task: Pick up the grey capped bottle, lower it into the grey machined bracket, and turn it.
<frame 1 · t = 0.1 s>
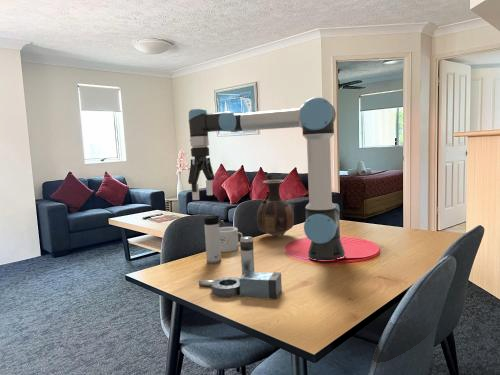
hand: (203, 197, 159), 28 cm above the table, fingers open, 13 cm apart
grey machined bracket: (228, 291, 128), on the table
vase: (276, 237, 199), on the table
travel mug: (214, 262, 162), on the table
mug: (230, 250, 180), on the table
grey capped bottle: (248, 281, 136), on the table
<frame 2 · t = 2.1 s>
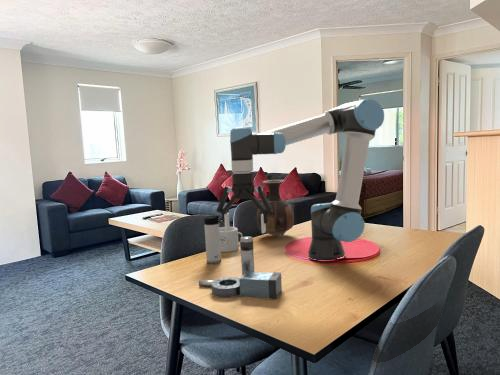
hand: (245, 232, 134), 18 cm above the table, fingers open, 13 cm apart
nothing on the table moved.
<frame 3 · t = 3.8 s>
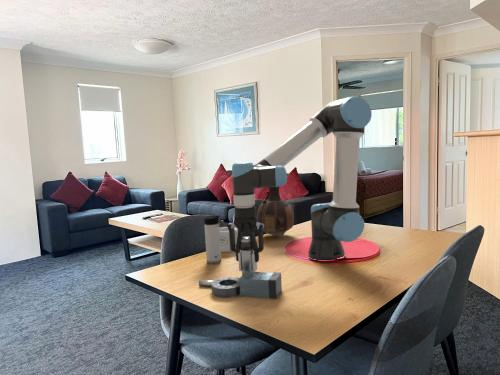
hand: (248, 270, 136), 4 cm above the table, fingers closed on grey capped bottle, 4 cm apart
grey capped bottle: (248, 281, 136), on the table, touching gripper
everything else where it was.
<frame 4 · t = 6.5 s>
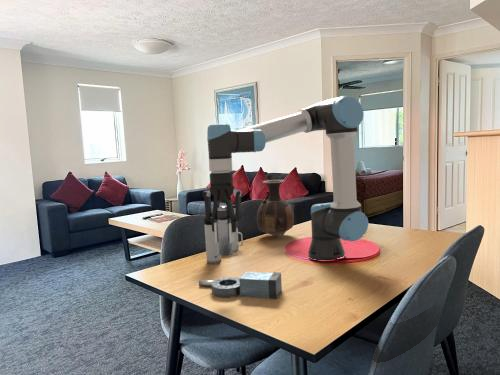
hand: (224, 241, 126), 17 cm above the table, fingers closed on grey capped bottle, 4 cm apart
grey capped bottle: (225, 253, 126), point 13 cm above the table, touching gripper
everything else where it was.
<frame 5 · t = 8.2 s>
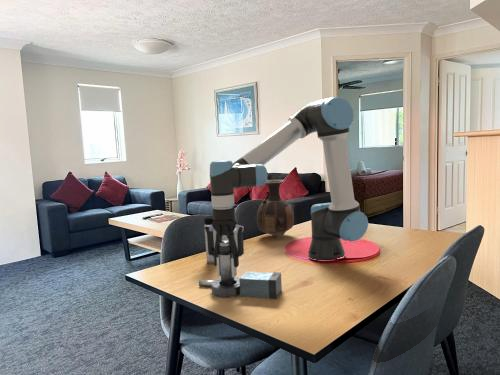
hand: (227, 275, 127), 5 cm above the table, fingers closed on grey capped bottle, 4 cm apart
grey capped bottle: (228, 287, 128), point 1 cm above the table, touching gripper
everything else where it was.
when the fingers open (5 cm above the table, at t = 9.4 s): grey capped bottle stays where it is, resting in grey machined bracket.
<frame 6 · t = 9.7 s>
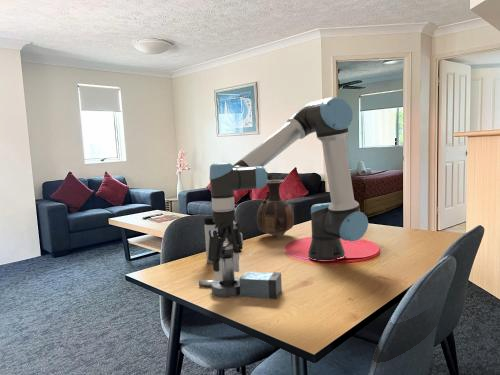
hand: (227, 275, 127), 5 cm above the table, fingers open, 9 cm apart
grey capped bottle: (228, 291, 128), resting in grey machined bracket
everything else where it was.
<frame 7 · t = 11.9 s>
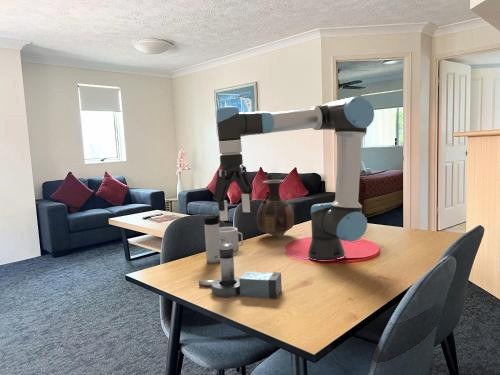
hand: (235, 216, 129), 25 cm above the table, fingers open, 13 cm apart
nothing on the table moved.
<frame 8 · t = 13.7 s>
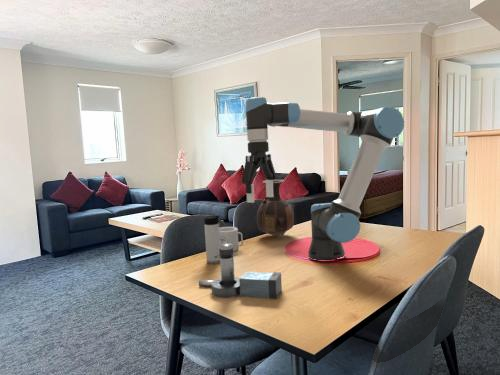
hand: (260, 199, 138), 29 cm above the table, fingers open, 13 cm apart
nothing on the table moved.
at the end: grey capped bottle 0.1 cm off-centre on the grey machined bracket, point 0.0 cm above the grey machined bracket's base; grey capped bottle tilted 0°; the gripper is holding nothing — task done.
